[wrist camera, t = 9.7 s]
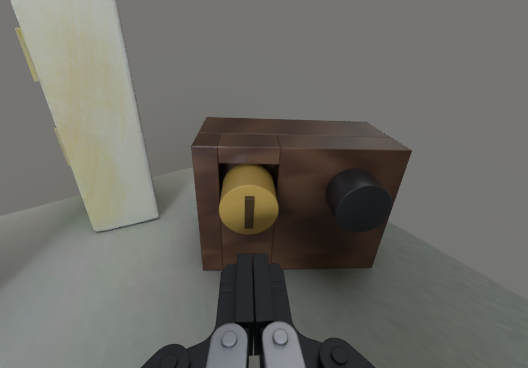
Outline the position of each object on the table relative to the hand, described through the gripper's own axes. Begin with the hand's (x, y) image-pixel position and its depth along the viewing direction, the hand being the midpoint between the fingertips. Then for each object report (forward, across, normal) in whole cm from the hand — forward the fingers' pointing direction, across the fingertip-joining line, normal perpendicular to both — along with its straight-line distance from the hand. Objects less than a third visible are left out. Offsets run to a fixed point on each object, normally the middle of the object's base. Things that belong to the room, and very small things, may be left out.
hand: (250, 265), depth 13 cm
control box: (+10, -4, +8) cm, 14 cm away
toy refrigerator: (+18, +15, +9) cm, 25 cm away
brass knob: (+6, 0, +2) cm, 7 cm away
